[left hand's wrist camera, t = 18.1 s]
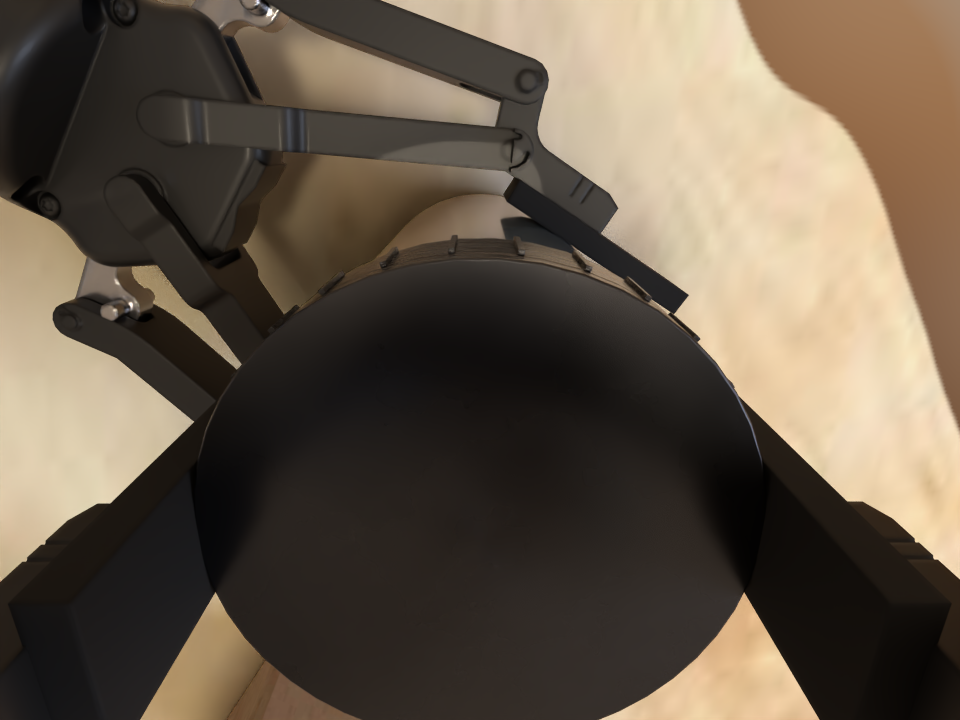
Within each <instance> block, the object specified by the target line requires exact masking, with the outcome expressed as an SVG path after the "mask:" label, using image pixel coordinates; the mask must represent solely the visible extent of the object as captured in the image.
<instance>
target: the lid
mask: <svg viewBox="0 0 960 720" xmlns="http://www.w3.org/2000/svg"><path fill="white" fill-rule="evenodd" d="M651 299H652V297H651V296H650V295H649V294H648V293H647V292H646V291H644V290H643V289H642V288H641V287H640V286H639V285H638V284H637V283H635V282H634V281H633V280H632V279H631V278H629V277H628V276H627V277H626V278H625V280H624V279H622V278H620V277H619V276H617V275H615V274H613V273H612V272H610V271H608V270H607V269H605V268H603V267H602V266H600V265H597V264H595V263H593V262H590V261H588V260H586V259H585V258H584V257H583V256H582V255H581V254H580V253H579V252H578V251H575V250H573V253H572V254H571V253H568V252H565V251H561V250H558V249H554V248H550V247H546V246H542V245H539V244H535V243H530V242H522V241H521V239H520V237H518V236H514V238H513V240H506V239H498V238H468V239H458V235H452V236H451V240H446V241H438V242H431V243H424V244H420V245H417V246H413V247H409V248H406V249H402V250H398V247H397V246H396V247H393V248H391V250H390V251H389V252H388V253H387V254H386V255H384V256H381V257H379V258H377V259H374V260H372V261H370V262H367V263H365V264H363V265H361V266H358V267H356V268H354V269H353V270H351V271H349V272H348V273H346V274H344V272H343V271H340V272H338V273H337V274H336V275H335V276H334V277H333V278H332V279H330V280H329V281H328V282H327V283H326V284H325V285H324V286H323V287H321V288H320V289H319V290H318V293H317V294H315V295H314V296H313V297H312V298H311V299H309V300H308V301H307V302H306V303H305V304H303V305H302V306H301V307H300V308H299V307H298V306H297V305H295V306H294V307H293V308H292V309H291V310H290V311H288V312H287V313H286V314H285V315H284V316H283V317H282V318H280V319H279V320H278V321H277V322H276V323H275V324H273V325H272V326H271V327H270V328H269V329H268V330H267V331H268V332H269V333H270V335H269V336H268V337H266V338H265V339H264V341H263V342H262V343H261V344H260V345H259V346H258V347H257V348H256V349H255V351H254V352H253V353H252V354H251V355H250V356H249V357H248V358H247V359H246V361H245V362H244V363H243V364H242V365H241V366H240V367H239V368H238V369H237V370H236V371H235V372H234V373H233V374H232V376H231V379H232V380H231V381H230V383H229V384H228V386H227V387H226V389H225V390H224V392H223V393H222V395H221V397H220V399H219V401H218V403H217V405H216V408H215V410H214V412H213V414H212V416H211V419H210V421H209V423H208V425H207V427H206V431H205V434H204V438H203V442H202V445H201V449H200V453H199V456H198V460H197V468H196V478H195V487H194V508H195V519H196V525H197V531H198V536H199V541H200V546H201V551H202V556H203V560H204V564H205V567H206V570H207V572H208V575H209V578H210V581H211V583H212V586H213V588H214V590H215V592H216V594H217V595H218V597H219V599H220V601H221V603H222V605H223V607H224V608H225V610H226V612H227V614H228V615H229V617H230V618H231V619H232V621H233V622H234V624H235V625H236V626H237V628H238V629H239V630H240V632H241V633H242V635H243V636H244V637H245V639H246V640H247V641H248V642H249V643H250V644H251V645H252V646H253V647H254V648H255V649H256V650H257V651H258V653H259V654H260V655H261V656H262V657H263V658H264V659H265V660H266V661H267V662H268V663H269V664H271V665H272V666H273V667H274V668H275V669H276V670H278V671H279V672H280V673H281V674H282V675H284V676H285V677H286V678H287V679H288V680H290V681H291V682H292V683H294V684H295V685H297V686H298V687H300V688H301V689H303V690H304V691H306V692H307V693H309V694H310V695H312V696H313V697H315V698H316V699H318V700H320V701H322V702H324V703H326V704H328V705H330V706H332V707H334V708H336V709H338V710H339V711H341V712H343V713H346V714H348V715H351V716H353V717H356V718H358V719H361V720H599V719H602V718H604V717H607V716H609V715H612V714H614V713H616V712H619V711H621V710H623V709H625V708H626V707H628V706H630V705H632V704H634V703H636V702H638V701H639V700H641V699H643V698H645V697H647V696H648V695H650V694H651V693H653V692H654V691H656V690H657V689H659V688H660V687H662V686H663V685H664V684H666V683H667V682H669V681H670V680H672V679H673V678H674V677H675V676H677V675H678V674H679V673H680V672H681V671H682V670H683V669H685V668H686V667H687V666H688V665H689V664H690V663H692V662H693V661H694V660H695V659H696V658H697V657H698V656H699V655H700V654H701V653H702V651H703V650H704V649H705V648H706V647H707V646H708V645H709V644H710V643H711V642H712V640H713V639H714V638H715V637H716V636H717V635H718V633H719V632H720V630H721V629H722V628H723V626H724V625H725V623H726V622H727V620H728V619H729V618H730V616H731V615H732V613H733V612H734V610H735V609H736V607H737V605H738V603H739V601H740V599H741V597H742V595H743V593H744V591H745V589H746V587H747V585H748V583H749V581H750V578H751V575H752V572H753V569H754V566H755V563H756V559H757V555H758V550H759V545H760V540H761V535H762V529H763V524H764V518H765V499H766V488H765V480H764V472H763V464H762V457H761V453H760V450H759V446H758V443H757V440H756V436H755V433H754V429H753V426H752V423H751V421H750V419H749V417H748V415H747V413H746V411H745V409H744V406H743V404H742V402H741V400H740V398H739V396H738V394H737V392H736V391H735V389H734V388H735V387H734V385H733V383H732V382H731V381H730V380H728V379H727V377H726V376H725V375H724V373H723V372H722V370H721V369H720V367H719V366H718V364H717V363H716V362H715V361H714V360H713V359H712V357H711V356H710V355H709V354H708V353H707V352H706V351H705V350H704V349H703V348H702V347H701V346H700V345H699V344H698V343H697V342H698V341H699V340H700V338H699V337H698V336H697V335H696V334H695V333H694V332H693V331H692V330H691V329H690V328H688V327H687V326H686V325H685V324H684V323H683V322H682V321H680V320H679V319H678V318H677V317H676V316H675V315H674V314H672V313H669V314H667V313H666V312H664V311H663V310H662V309H661V308H660V307H659V306H658V305H657V304H656V303H654V302H653V301H652V300H651Z"/></svg>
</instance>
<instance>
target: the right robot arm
mask: <svg viewBox="0 0 960 720" xmlns="http://www.w3.org/2000/svg"><path fill="white" fill-rule="evenodd" d="M290 18H291V19H292V20H294V21H295V22H297V23H298V24H300V25H302V26H304V27H305V28H307V29H309V30H310V31H312V32H314V33H317V34H319V35H321V36H323V37H326V38H328V39H331V40H334V41H336V42H339V43H342V44H344V45H347V46H350V47H353V48H355V49H358V50H361V51H363V52H366V53H369V54H371V55H374V56H377V57H380V58H382V59H385V60H388V61H390V62H393V63H396V64H398V65H401V66H404V67H407V68H409V69H412V70H415V71H417V72H420V73H423V74H426V75H428V76H431V77H434V78H436V79H439V80H442V81H444V82H447V83H450V84H453V85H455V86H458V87H461V88H463V89H466V90H469V91H471V92H474V93H477V94H480V95H482V96H485V97H488V98H490V99H493V100H496V101H498V102H500V107H499V111H498V116H497V121H496V125H495V127H490V126H480V125H469V124H458V123H447V122H437V121H426V120H415V119H404V118H394V117H383V116H372V115H361V114H351V113H340V112H329V111H318V110H308V109H299V108H290V107H281V106H271V105H266V104H265V101H264V99H263V97H262V95H261V93H260V91H259V89H258V87H257V85H256V82H255V80H254V78H253V76H252V74H251V72H250V70H249V68H248V65H247V63H246V61H245V59H244V57H243V55H242V53H241V51H240V49H239V46H238V44H237V42H236V40H235V38H234V35H235V34H236V32H237V31H238V30H240V29H241V28H243V27H247V26H252V27H256V28H258V29H261V30H263V31H265V32H269V33H274V32H278V31H280V30H281V29H283V28H284V26H285V25H286V24H287V22H288V20H289V19H290ZM548 82H549V79H548V74H547V70H546V69H545V67H544V66H543V64H542V63H540V62H539V61H537V60H536V59H533V58H531V57H528V56H525V55H523V54H520V53H518V52H515V51H512V50H510V49H507V48H504V47H502V46H499V45H497V44H494V43H491V42H489V41H486V40H483V39H481V38H478V37H476V36H473V35H470V34H468V33H465V32H462V31H460V30H457V29H455V28H452V27H449V26H447V25H444V24H441V23H439V22H436V21H434V20H431V19H428V18H426V17H423V16H420V15H418V14H415V13H413V12H410V11H407V10H405V9H402V8H399V7H397V6H394V5H392V4H389V3H386V2H384V1H381V0H195V2H194V3H193V5H192V7H189V6H184V5H170V4H164V3H160V2H158V1H156V0H0V197H2V198H4V199H6V200H7V201H9V202H11V203H13V204H15V205H18V206H20V207H22V208H24V209H27V210H29V211H31V212H34V213H36V214H38V215H41V216H43V217H45V218H47V219H49V220H51V221H53V222H54V223H56V224H57V225H58V226H60V227H61V228H62V229H63V230H64V231H65V232H66V233H67V234H68V235H69V236H70V238H71V239H72V240H73V241H74V243H75V244H76V245H77V247H78V248H79V249H80V251H81V252H82V253H83V254H84V255H86V256H87V259H86V263H85V266H84V270H83V274H82V277H81V281H80V284H79V288H78V291H77V295H76V297H75V299H73V300H71V301H68V302H65V303H63V304H61V305H59V306H58V307H56V308H55V310H54V312H53V321H54V324H55V327H56V328H57V329H58V330H59V331H60V332H61V333H62V334H64V335H65V336H67V337H69V338H72V339H74V340H76V341H78V342H81V343H83V344H85V345H88V346H90V347H92V348H95V349H97V350H99V351H102V352H104V353H106V354H109V355H111V356H113V357H115V358H117V359H119V360H120V361H121V362H122V363H123V364H125V365H126V366H127V367H128V368H130V369H131V370H132V371H133V372H134V373H136V374H137V375H138V376H139V377H140V378H142V379H143V380H144V381H145V382H147V383H148V384H149V385H150V386H151V387H153V388H154V389H155V390H156V391H158V392H159V393H160V394H161V395H162V396H164V397H165V398H166V399H167V400H168V401H170V402H171V403H172V404H173V405H175V406H176V407H177V408H178V409H179V410H181V411H182V412H183V413H184V414H186V415H187V416H188V417H189V418H190V419H192V420H193V421H194V422H195V421H196V420H197V419H198V418H199V417H200V416H201V415H202V414H203V413H204V412H205V411H206V410H207V409H208V408H209V407H210V406H211V405H212V404H213V403H214V402H215V401H216V400H217V399H219V398H220V397H221V395H222V393H223V392H224V390H225V389H226V387H227V386H228V384H229V383H230V381H231V380H232V379H231V376H232V374H233V373H234V372H235V371H236V370H237V369H235V368H234V367H233V366H232V365H231V364H230V363H229V362H227V361H226V360H225V359H224V358H223V357H222V356H220V355H219V354H218V353H217V352H216V351H215V350H214V349H212V348H211V347H210V346H209V345H208V344H207V343H206V342H204V341H203V340H202V339H201V338H200V337H199V336H197V335H196V334H195V333H194V332H193V331H192V330H191V329H189V328H188V327H187V326H186V325H185V324H184V323H182V322H181V321H180V320H178V319H177V318H176V317H175V316H173V315H172V314H170V313H169V312H167V311H165V310H164V309H162V308H160V307H158V306H156V305H154V304H153V301H154V300H155V295H154V293H153V292H152V291H151V290H150V289H148V288H144V287H142V286H141V285H140V284H138V282H137V281H136V280H135V279H134V276H133V274H132V266H150V265H158V267H159V268H160V269H161V271H162V272H163V273H164V275H165V276H166V277H167V279H168V280H169V281H170V283H171V284H172V285H173V287H174V288H175V289H176V291H177V292H178V293H179V295H180V296H181V297H182V299H183V300H184V301H185V302H186V303H187V304H188V305H189V306H191V307H192V308H194V309H197V310H200V311H201V312H203V313H204V315H205V316H206V317H207V318H208V320H209V321H210V322H211V324H212V325H213V326H214V328H215V329H216V330H217V332H218V333H219V334H220V336H221V337H222V338H223V340H224V341H225V342H226V344H227V345H228V346H229V348H230V349H231V350H232V352H233V353H234V354H235V356H236V357H237V358H238V360H239V361H240V363H241V364H243V363H244V362H245V361H246V359H247V358H248V357H249V356H250V355H251V354H252V353H253V352H254V351H255V349H256V348H257V347H258V346H259V345H260V344H261V343H262V342H263V341H264V339H265V338H266V337H268V336H269V335H270V333H269V332H268V331H267V330H268V329H269V328H270V327H271V326H272V325H273V324H275V323H276V322H277V321H278V320H279V319H280V318H282V317H283V316H284V314H283V313H282V311H281V310H280V308H279V307H278V305H277V304H276V303H275V301H274V300H273V298H272V297H271V295H270V294H269V293H268V291H267V290H266V288H265V287H264V285H263V284H262V282H261V281H260V279H259V277H258V269H257V267H256V265H255V263H254V261H253V260H252V258H251V257H250V255H249V254H248V253H247V251H246V250H245V248H244V247H243V245H242V244H245V243H247V242H248V240H249V238H250V236H251V234H252V232H253V230H254V228H255V226H256V223H257V218H258V212H259V207H260V202H261V200H262V199H263V198H264V197H265V196H266V195H267V194H268V193H269V192H270V190H271V189H272V188H273V187H274V186H275V185H276V184H277V182H278V180H279V178H280V176H281V174H282V172H283V170H284V168H285V166H286V164H285V163H284V162H282V158H283V152H298V153H312V154H323V155H334V156H345V157H356V158H367V159H378V160H389V161H400V162H411V163H422V164H433V165H444V166H455V167H466V168H477V169H488V170H499V171H506V172H507V173H509V174H510V175H512V176H513V177H514V178H513V180H512V182H511V183H510V185H509V186H508V188H507V190H506V191H505V193H504V194H503V195H504V197H505V200H506V202H508V203H509V204H511V205H512V206H514V207H515V208H517V209H518V210H520V211H521V212H523V213H524V214H526V215H527V216H528V217H530V218H531V219H533V220H534V221H536V222H537V223H539V224H540V225H542V226H543V227H545V228H546V229H548V230H549V231H551V232H552V233H554V234H555V235H557V236H558V237H560V238H561V239H563V240H564V241H566V242H567V243H569V244H570V245H572V246H573V247H575V248H576V249H578V250H579V251H581V252H582V253H584V254H585V255H587V256H588V257H590V258H591V259H592V260H594V261H595V262H597V263H598V264H600V265H601V266H603V267H604V268H606V269H607V270H609V271H610V272H612V273H613V274H615V275H617V276H619V277H620V278H622V279H624V280H625V278H626V277H627V276H628V277H629V278H631V279H632V280H633V281H634V282H635V283H637V284H638V285H639V286H640V287H641V288H642V289H643V290H644V291H646V292H647V293H648V294H649V295H650V296H651V297H652V300H654V301H655V302H657V303H658V304H659V305H661V306H662V307H664V308H665V309H667V310H668V311H670V312H671V313H673V314H674V313H675V312H676V311H677V310H678V308H679V307H680V306H681V304H682V303H683V302H684V301H685V299H686V298H687V297H688V296H689V295H688V294H687V293H685V292H684V291H682V290H681V289H680V288H678V287H677V286H675V285H674V284H673V283H671V282H670V281H669V280H667V279H666V278H664V277H663V276H661V275H660V274H659V273H657V272H656V271H654V270H653V269H651V268H650V267H648V266H647V265H645V264H644V263H642V262H641V261H640V260H638V259H637V258H635V257H634V256H632V255H631V254H629V253H628V252H626V251H625V250H623V249H622V248H621V247H619V246H618V245H616V244H615V243H613V242H612V241H610V240H609V239H607V238H606V237H604V236H603V235H602V234H601V232H602V231H603V229H604V228H605V226H606V225H607V224H608V222H609V221H610V219H611V218H612V217H613V215H614V214H615V212H616V211H617V209H618V207H617V205H616V204H615V202H614V200H613V199H612V197H611V196H610V194H609V193H608V192H606V191H605V190H603V189H602V188H600V187H599V186H598V185H596V184H595V183H593V182H592V181H590V180H589V179H588V178H586V177H585V176H583V175H582V174H580V173H579V172H578V171H576V170H575V169H573V168H572V167H571V166H569V165H568V164H566V163H565V162H563V161H562V160H561V159H559V158H558V157H556V156H555V155H553V154H552V153H551V152H549V151H548V150H547V149H546V148H545V147H544V146H543V145H542V143H541V142H540V139H539V136H538V130H537V127H538V120H539V116H540V112H541V108H542V103H543V99H544V95H545V92H546V90H547V88H548Z"/></svg>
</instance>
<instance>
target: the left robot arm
mask: <svg viewBox="0 0 960 720" xmlns="http://www.w3.org/2000/svg"><path fill="white" fill-rule="evenodd" d="M739 398H740V397H739ZM219 399H220V398H219ZM219 399H217V400H216V401H215V402H214V403H213V404H212V405H211V406H210V407H209V408H208V409H207V410H206V411H205V412H204V413H203V414H202V415H201V416H200V417H199V418H198V419H197V420H196V421H195V422H194V423H193V424H192V425H191V426H190V427H189V428H188V429H187V430H186V431H185V432H184V433H183V434H181V435H180V436H179V437H178V438H177V439H176V440H175V441H174V442H173V443H172V444H171V445H170V446H169V447H168V448H167V449H166V450H165V451H164V452H163V453H162V454H161V455H160V456H159V457H158V458H157V459H156V460H155V461H154V462H153V463H152V464H151V465H150V466H149V467H148V468H147V469H145V470H144V471H143V472H142V473H141V474H140V475H139V476H138V477H137V478H136V479H135V480H134V481H133V482H132V483H131V484H130V485H129V486H128V487H127V488H126V489H125V490H124V491H123V492H122V493H121V494H120V495H119V496H118V497H117V498H116V499H115V500H114V501H113V502H112V503H111V504H96V505H94V506H93V507H91V508H89V509H87V510H86V511H84V512H82V513H80V514H79V515H77V516H75V517H73V518H71V519H70V520H68V521H67V522H66V523H65V524H63V525H62V526H61V527H60V528H59V529H58V530H57V531H56V532H55V533H54V534H52V535H51V536H50V537H49V538H48V539H47V540H46V543H45V545H40V546H39V547H38V548H37V549H36V550H35V551H34V552H33V553H32V554H31V555H29V556H28V557H27V561H26V562H22V563H21V564H20V565H19V566H17V567H16V568H15V569H14V570H13V571H12V572H11V573H10V574H9V575H8V576H6V577H5V578H4V579H3V580H2V581H1V582H0V720H140V719H141V717H142V715H143V714H144V712H145V710H146V709H147V707H148V705H149V704H150V702H151V700H152V699H153V697H154V695H155V693H156V692H157V690H158V688H159V687H160V685H161V683H162V682H163V680H164V678H165V677H166V675H167V673H168V671H169V670H170V668H171V666H172V665H173V663H174V661H175V660H176V658H177V656H178V655H179V653H180V651H181V649H182V648H183V646H184V644H185V643H186V641H187V639H188V638H189V636H190V634H191V632H192V631H193V629H194V627H195V626H196V624H197V622H198V621H199V619H200V617H201V616H202V614H203V612H204V610H205V609H206V607H207V605H208V604H209V602H210V600H211V599H212V597H213V595H214V594H215V590H214V588H213V586H212V583H211V581H210V578H209V575H208V572H207V570H206V567H205V564H204V560H203V556H202V551H201V546H200V541H199V536H198V531H197V525H196V519H195V508H194V487H195V478H196V468H197V460H198V456H199V453H200V449H201V445H202V442H203V438H204V434H205V431H206V427H207V425H208V423H209V421H210V419H211V416H212V414H213V412H214V410H215V408H216V405H217V403H218V401H219ZM740 400H741V402H742V404H743V406H744V409H745V411H746V413H747V415H748V417H749V419H750V421H751V423H752V426H753V429H754V433H755V436H756V440H757V443H758V446H759V450H760V453H761V457H762V464H763V472H764V480H765V488H766V499H765V518H764V524H763V529H762V535H761V540H760V545H759V550H758V555H757V559H756V563H755V566H754V569H753V572H752V575H751V578H750V581H749V583H748V585H747V587H746V589H745V591H744V592H745V594H746V596H747V598H748V599H749V601H750V603H751V604H752V606H753V608H754V609H755V611H756V613H757V614H758V616H759V618H760V620H761V621H762V623H763V625H764V626H765V628H766V630H767V631H768V633H769V635H770V636H771V638H772V640H773V642H774V643H775V645H776V647H777V648H778V650H779V652H780V653H781V655H782V657H783V659H784V660H785V662H786V664H787V665H788V667H789V669H790V670H791V672H792V674H793V675H794V677H795V679H796V681H797V682H798V684H799V686H800V687H801V689H802V691H803V692H804V694H805V696H806V697H807V699H808V701H809V703H810V704H811V706H812V708H813V709H814V711H815V713H816V714H817V716H818V718H819V720H960V579H959V578H957V577H956V576H955V575H954V574H953V573H952V572H951V571H950V570H949V569H948V568H946V567H945V566H944V565H943V564H942V563H941V562H940V561H939V560H934V559H933V555H932V554H931V553H930V552H929V551H928V550H927V549H925V548H924V547H923V546H922V545H921V544H920V543H915V539H914V538H913V537H912V536H911V535H910V534H909V533H908V532H907V531H906V530H905V529H903V528H902V527H901V526H900V525H899V524H898V523H897V522H896V521H895V520H893V519H892V518H891V517H889V516H887V515H885V514H883V513H882V512H880V511H878V510H876V509H875V508H873V507H871V506H869V505H867V504H866V503H864V502H847V501H846V500H845V499H844V498H843V497H842V496H841V495H840V494H839V493H838V492H837V491H836V490H835V489H834V488H833V487H832V486H831V485H830V484H829V483H827V482H826V481H825V480H824V479H823V478H822V477H821V476H820V475H819V474H818V473H817V472H816V471H815V470H814V469H813V468H812V467H811V466H810V465H809V464H808V463H807V462H806V461H805V460H804V459H803V458H802V457H801V456H800V455H799V454H798V453H797V452H796V451H795V450H794V449H793V448H792V447H790V446H789V445H788V444H787V443H786V442H785V441H784V440H783V439H782V438H781V437H780V436H779V435H778V434H777V433H776V432H775V431H774V430H773V429H772V428H771V427H770V426H769V425H768V424H767V423H766V422H765V421H764V420H763V419H762V418H761V417H760V416H759V415H758V414H757V413H756V412H754V411H753V410H752V409H751V408H750V407H749V406H748V405H747V404H746V403H745V402H744V401H743V400H742V399H741V398H740Z"/></svg>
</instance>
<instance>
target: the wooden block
mask: <svg viewBox="0 0 960 720" xmlns="http://www.w3.org/2000/svg"><path fill="white" fill-rule="evenodd" d="M227 720H361V719H358V718H356V717H353V716H351V715H348V714H346V713H343V712H341V711H339V710H338V709H336V708H334V707H332V706H330V705H328V704H326V703H324V702H322V701H320V700H318V699H316V698H315V697H313V696H312V695H310V694H309V693H307V692H306V691H304V690H303V689H301V688H300V687H298V686H297V685H295V684H294V683H292V682H291V681H290V680H288V679H287V678H286V677H285V676H284V675H282V674H281V673H280V672H279V671H278V670H276V669H275V668H274V667H273V666H272V665H271V664H269V663H268V662H267V661H266V660H265V662H264V663H263V665H262V666H261V668H260V669H259V671H258V672H257V674H256V675H255V677H254V678H253V680H252V682H251V683H250V685H249V686H248V688H247V689H246V691H245V692H244V694H243V695H242V697H241V698H240V700H239V701H238V703H237V704H236V706H235V707H234V709H233V711H232V712H231V714H230V715H229V717H228V718H227Z"/></svg>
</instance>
